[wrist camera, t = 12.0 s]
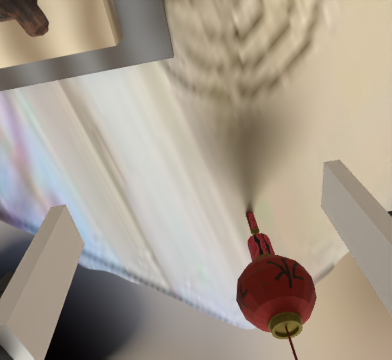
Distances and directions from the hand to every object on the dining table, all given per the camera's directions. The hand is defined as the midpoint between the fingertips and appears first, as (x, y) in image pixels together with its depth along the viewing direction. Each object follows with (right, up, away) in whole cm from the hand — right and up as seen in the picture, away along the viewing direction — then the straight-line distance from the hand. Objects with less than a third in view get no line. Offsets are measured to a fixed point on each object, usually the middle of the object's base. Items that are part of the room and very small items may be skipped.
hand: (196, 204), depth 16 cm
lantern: (+9, -4, +35) cm, 36 cm away
